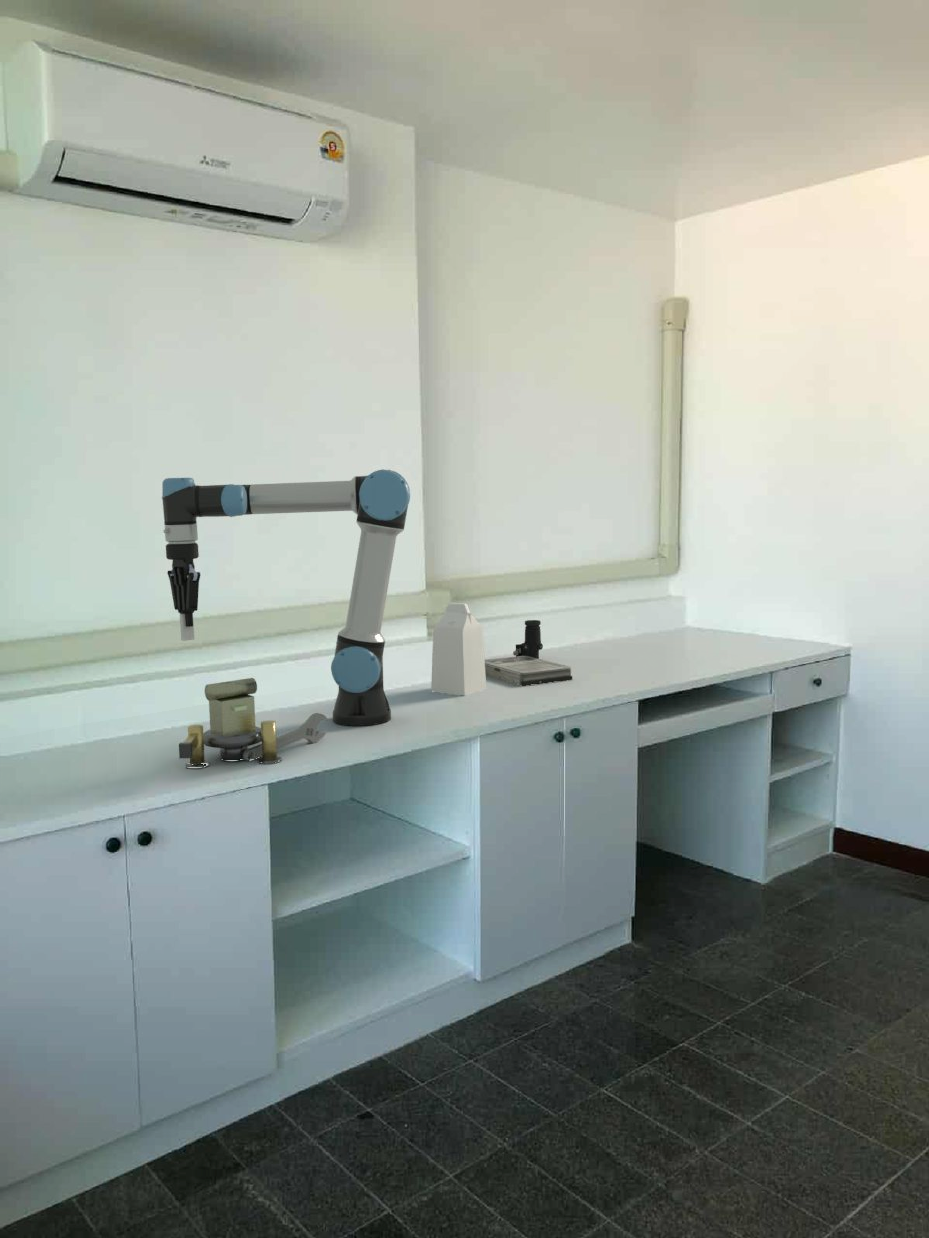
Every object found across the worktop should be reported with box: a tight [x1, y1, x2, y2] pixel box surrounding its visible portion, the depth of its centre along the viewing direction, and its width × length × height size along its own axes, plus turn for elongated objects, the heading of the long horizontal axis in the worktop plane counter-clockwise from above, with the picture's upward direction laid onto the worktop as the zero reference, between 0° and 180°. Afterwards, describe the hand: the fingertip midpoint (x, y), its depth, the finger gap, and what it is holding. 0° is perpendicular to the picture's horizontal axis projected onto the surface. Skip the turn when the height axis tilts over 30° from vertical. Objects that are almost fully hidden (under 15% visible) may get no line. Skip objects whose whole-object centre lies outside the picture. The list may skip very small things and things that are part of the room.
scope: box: [512, 619, 544, 659], centre depth 350 cm, size 8×14×10 cm
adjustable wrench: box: [243, 712, 328, 761], centre depth 234 cm, size 25×6×2 cm
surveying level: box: [184, 677, 283, 767], centre depth 225 cm, size 19×21×18 cm
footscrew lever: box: [178, 724, 206, 764], centre depth 216 cm, size 14×3×8 cm, turn 5°
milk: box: [430, 602, 487, 696], centre depth 299 cm, size 12×12×26 cm
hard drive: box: [484, 656, 573, 687], centre depth 321 cm, size 18×27×4 cm
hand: (187, 639), depth 246 cm, fingers closed
